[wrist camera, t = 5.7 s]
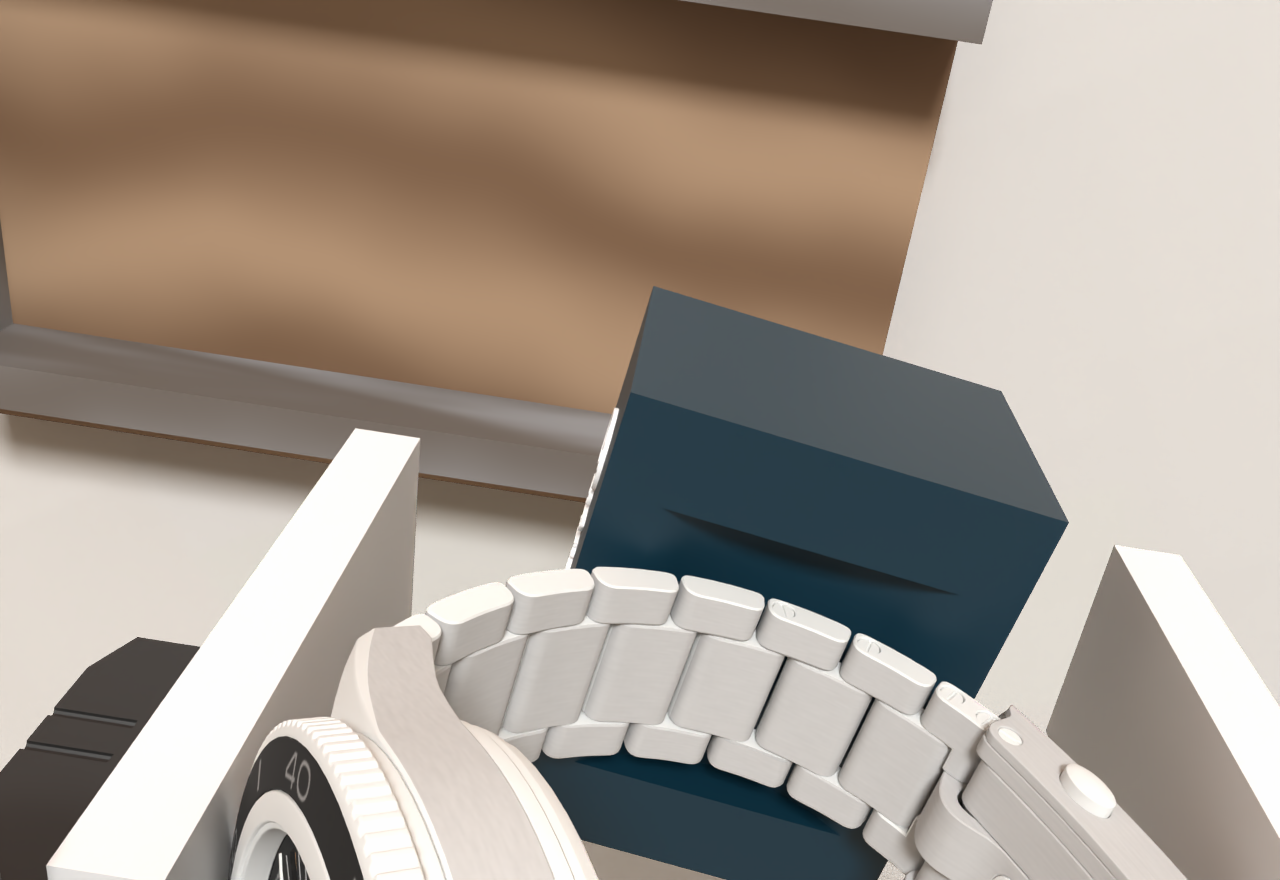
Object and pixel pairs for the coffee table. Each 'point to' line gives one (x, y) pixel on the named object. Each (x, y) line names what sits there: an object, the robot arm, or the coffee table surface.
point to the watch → (722, 653)
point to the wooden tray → (440, 207)
